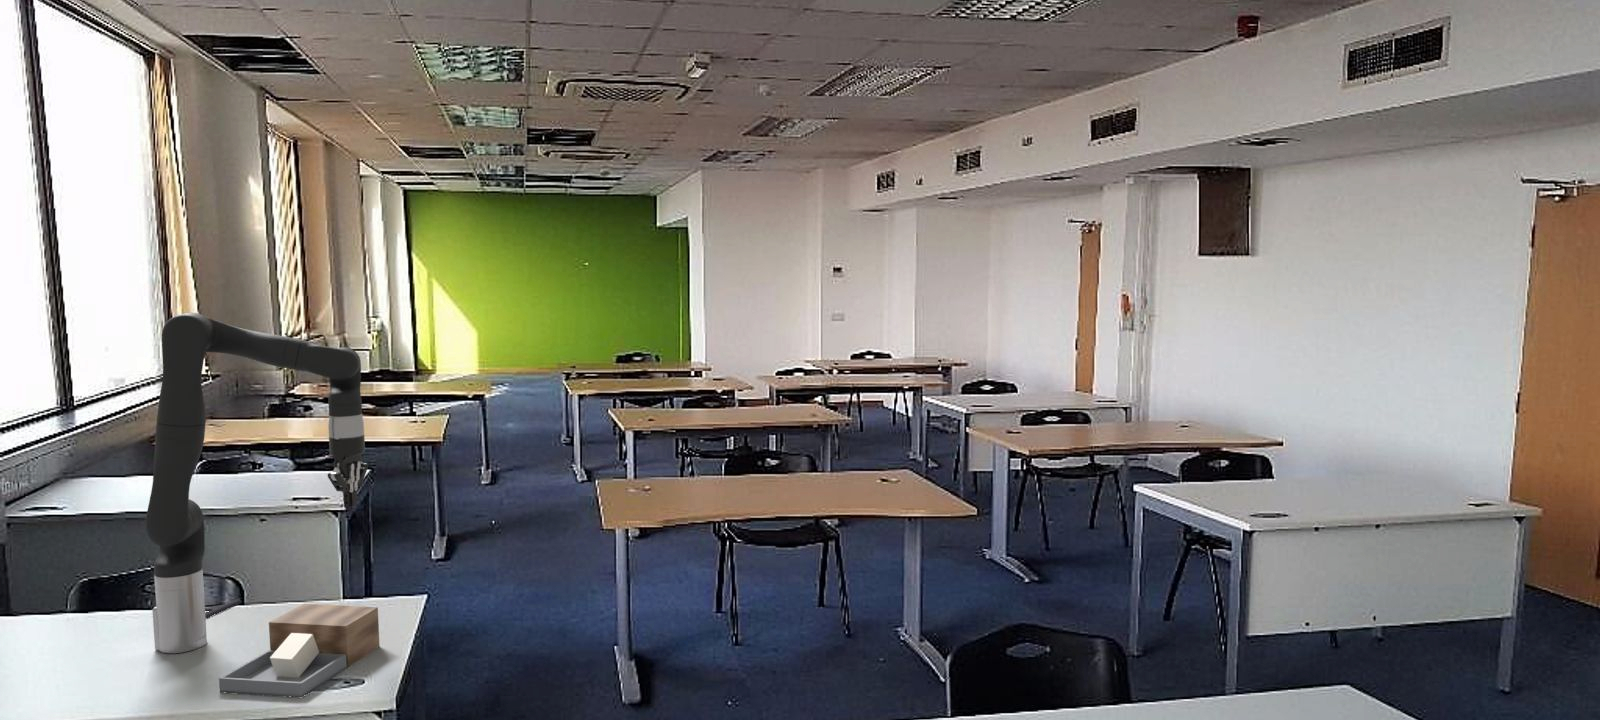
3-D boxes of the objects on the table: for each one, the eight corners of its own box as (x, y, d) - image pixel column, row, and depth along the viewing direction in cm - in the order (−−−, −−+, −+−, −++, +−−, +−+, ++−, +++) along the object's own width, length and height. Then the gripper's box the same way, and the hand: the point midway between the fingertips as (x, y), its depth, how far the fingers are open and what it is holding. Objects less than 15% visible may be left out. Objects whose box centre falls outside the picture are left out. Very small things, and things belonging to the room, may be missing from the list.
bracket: (190, 602, 260) (190, 591, 260) (241, 605, 257) (241, 594, 257) (145, 622, 246) (144, 610, 246) (198, 625, 243) (197, 614, 243)
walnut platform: (271, 662, 218) (268, 622, 217) (306, 642, 230) (304, 603, 229) (348, 667, 215) (346, 626, 214) (379, 646, 227) (377, 607, 226)
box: (219, 692, 203) (218, 678, 202) (269, 663, 217) (268, 650, 217) (302, 698, 200) (301, 683, 200) (346, 668, 215) (346, 654, 214)
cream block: (298, 650, 216) (276, 676, 209) (291, 632, 214) (269, 657, 207) (319, 652, 215) (298, 677, 209) (312, 634, 213) (291, 659, 206)
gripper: (348, 429, 241) (351, 500, 243) (314, 438, 228) (317, 513, 230) (377, 429, 240) (380, 501, 242) (344, 439, 227) (348, 514, 229)
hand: (350, 507), depth 236 cm, fingers closed
